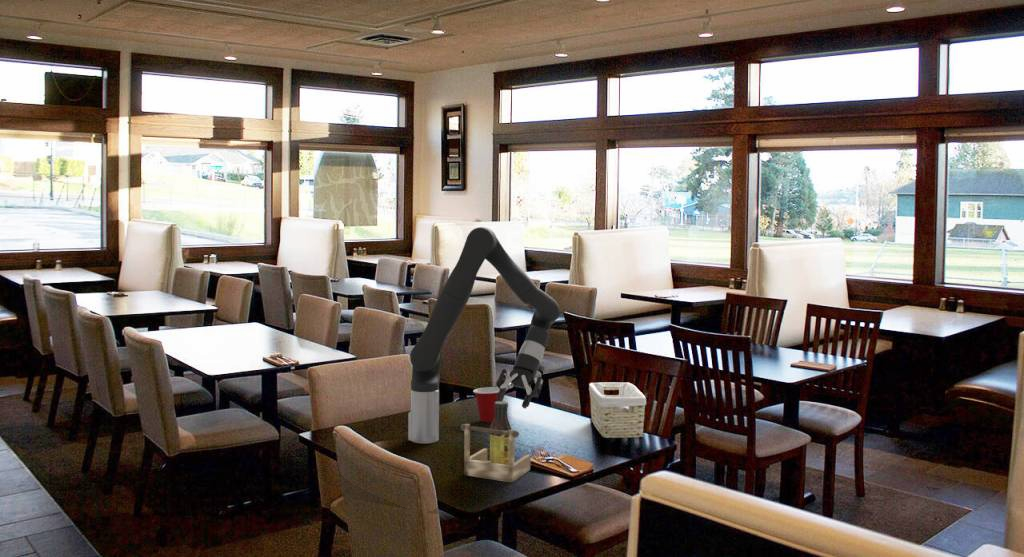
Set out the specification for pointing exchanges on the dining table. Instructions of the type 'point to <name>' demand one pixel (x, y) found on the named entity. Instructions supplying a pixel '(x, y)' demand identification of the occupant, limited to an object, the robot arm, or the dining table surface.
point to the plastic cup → (486, 402)
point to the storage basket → (617, 410)
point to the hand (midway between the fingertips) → (511, 404)
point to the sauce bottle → (500, 435)
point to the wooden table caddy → (495, 471)
